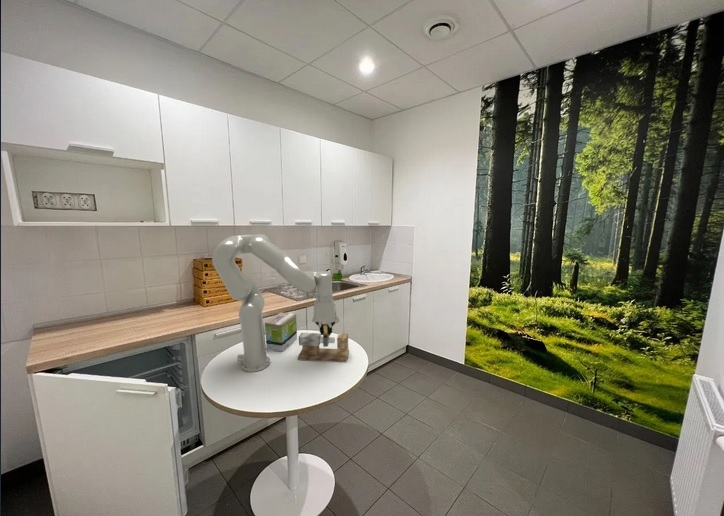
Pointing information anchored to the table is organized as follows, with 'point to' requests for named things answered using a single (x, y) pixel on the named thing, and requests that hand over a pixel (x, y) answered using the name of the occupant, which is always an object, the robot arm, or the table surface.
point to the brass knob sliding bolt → (326, 336)
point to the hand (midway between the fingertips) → (326, 333)
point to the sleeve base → (317, 349)
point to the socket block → (342, 345)
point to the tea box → (281, 331)
